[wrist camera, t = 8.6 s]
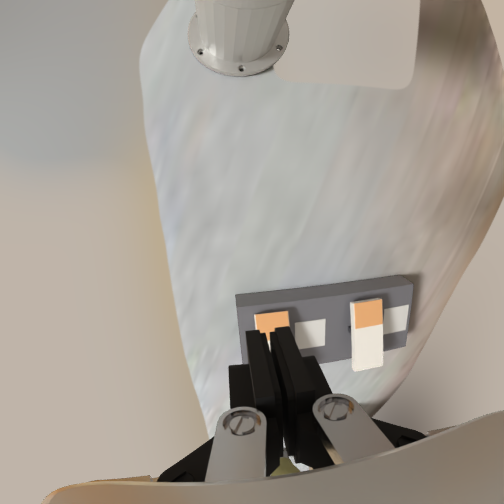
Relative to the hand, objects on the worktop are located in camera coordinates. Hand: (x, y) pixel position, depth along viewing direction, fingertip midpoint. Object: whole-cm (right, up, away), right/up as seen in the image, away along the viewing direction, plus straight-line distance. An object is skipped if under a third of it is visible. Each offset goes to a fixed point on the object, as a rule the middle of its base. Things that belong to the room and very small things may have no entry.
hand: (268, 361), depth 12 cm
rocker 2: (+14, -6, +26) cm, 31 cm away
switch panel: (+9, -5, +32) cm, 34 cm away
